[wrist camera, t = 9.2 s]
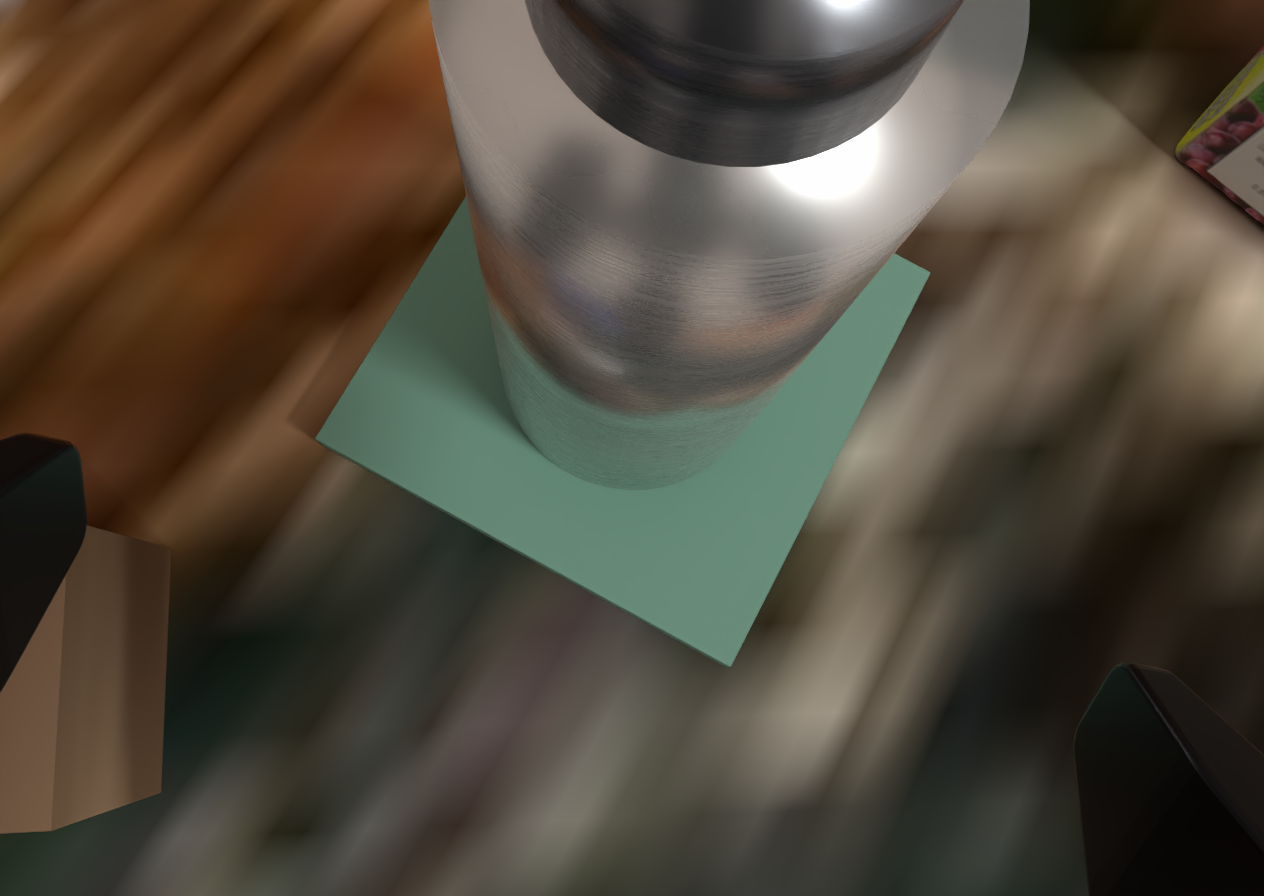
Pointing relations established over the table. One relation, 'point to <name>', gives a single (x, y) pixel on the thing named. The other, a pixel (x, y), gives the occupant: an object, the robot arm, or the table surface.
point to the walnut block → (89, 691)
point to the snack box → (1232, 140)
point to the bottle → (698, 195)
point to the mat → (592, 514)
